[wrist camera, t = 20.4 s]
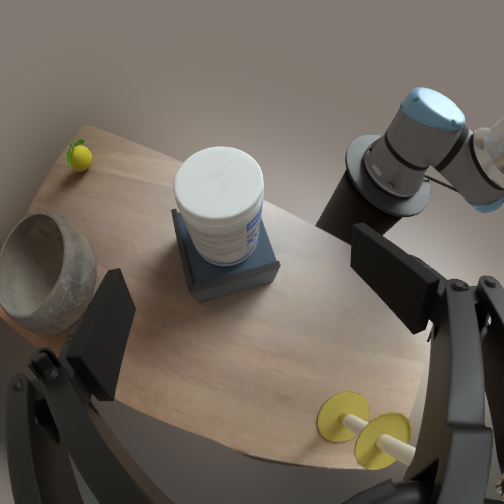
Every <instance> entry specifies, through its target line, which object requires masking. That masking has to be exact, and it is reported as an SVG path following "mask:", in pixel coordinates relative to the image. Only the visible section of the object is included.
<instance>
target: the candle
mask: <svg viewBox="0 0 504 504" xmlns="http://www.w3.org/2000/svg"><path fill="white" fill-rule="evenodd" d="M368 419H369V406H368V403H367V401H366V399H364V398H363V397H362V396H361V395H360V394H357V393H353V392H343V393H339V394H337V395H335V396H333V397H331V398H330V399H329V400H328V401H327V402H326V403H325V404H324V405H323V406H322V408H321V410H320V412H319V414H318V418H317V427H318V429H319V431H320V434H321V435H322V436H323V437H324V438H326V439H327V440H328V441H332V442H337V443H339V442H344V441H349V440H351V439H352V438H354V437H356V436H359V437H358V439H357V441H356V443H355V452H354V455H355V458H356V460H357V462H358V464H359V465H361V466H362V467H364V468H365V469H371V470H378V469H381V468H384V467H387V466H389V465H390V464H392V463H393V462H395V461H396V460H399V461H400V462H402V463H404V464H406V465H407V466H409V465H410V463H411V462H412V460H413V457H414V454H415V450H416V448H415V447H412V446H410V445H408V444H409V442H410V439H411V432H412V428H411V425H410V422H409V419H407V418H406V417H405V416H404V415H403V414H400V413H395V412H390V413H386V414H382V415H380V416H378V417H377V418H375V419H373V420H372V421H370V422H369V423H368Z"/></svg>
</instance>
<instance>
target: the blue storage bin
mask: <svg viewBox="0 0 504 504" xmlns="http://www.w3.org/2000/svg"><path fill="white" fill-rule="evenodd" d="M171 212H172V217H173V222H174V227H175V232H176V237H177V242H178V247H179V251H180V256H181V260H182V265H183V269H184V273H185V277H186V282H187V286H188V290H189V292H190V293H191V294H192V295H193V296H194V297H195V298H196V299H197V300H198V301H199V303H200V302H204V301H208V300H211V299H215V298H218V297H222V296H226V295H229V294H233V293H236V292H240V291H243V290H247V289H250V288H253V287H257V286H260V285H264V284H267V283H270V282H273V281H274V278H275V276H276V274H277V272H278V270H279V268H280V263H279V261H276V258H275V255H274V253H273V250H272V247H271V244H270V241H269V238H268V236H267V233H266V230H265V227H264V224H263V221H262V219H261V220H260V227H259V235H258V241H257V245H256V247H255V249H254V251H253V252H252V254H251V255H250V256H249V257H248V258H247V259H246V260H244V261H243V262H241V263H238V264H236V265H232V266H218V265H214V264H212V263H210V262H208V261H206V260H205V259H204V258H203V257H201V255H200V254H199V253H198V251H197V250H196V248H195V245H194V243H193V241H192V239H191V236H190V234H189V232H188V229H187V227H186V225H185V222H184V220H183V218H182V215H181V213H178V212H177V210H176V209H173V210H171Z"/></svg>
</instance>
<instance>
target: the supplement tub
mask: <svg viewBox="0 0 504 504" xmlns="http://www.w3.org/2000/svg"><path fill="white" fill-rule="evenodd" d="M174 194H175V199H176V203H177V206H178V208H179V211H180V213H181V215H182V218H183V220H184V222H185V225H186V227H187V229H188V232H189V234H190V236H191V239H192V241H193V243H194V245H195V248H196V250H197V251H198V253H199V254H200V255H201V257H203V258H204V259H205V260H206V261H208V262H210V263H212V264H214V265H218V266H232V265H236V264H238V263H241V262H243V261H244V260H246V259H247V258H248V257H249V256H250V255H251V254H252V252H253V251H254V249H255V247H256V245H257V241H258V235H259V227H260V220H261V212H262V204H263V195H264V183H263V175H262V171H261V168H260V166H259V165H258V163H257V162H256V161H255V160H254V159H253V158H252V157H251V156H250V155H248V154H247V153H245V152H243V151H240V150H238V149H235V148H231V147H212V148H207V149H204V150H201V151H199V152H197V153H195V154H193V155H192V156H190V157H189V158H188V159H186V161H184V162H183V163H182V165H181V166H180V167H179V169H178V171H177V173H176V175H175V178H174Z"/></svg>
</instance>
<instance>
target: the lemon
mask: <svg viewBox="0 0 504 504" xmlns="http://www.w3.org/2000/svg"><path fill="white" fill-rule="evenodd" d="M82 143H84V140H82V139H79V140H78V141H77V142H76V144H75V145H74V146H75V147H74V148H73V146H72V145H71V143H70V142H69V144H70V149H71V147H72V148H73V149H72V150H71V152H70V149H69V150H68V152H67V162H68V166H69V162H70V164H71V166H72V168H73V169H74V170H76V171H78V172H83V171H85V170H87V169H88V168H89V167H90V165H91V163H92V155H91V153H90V151H89V150H88V149H87V148H86V147H84V146H76V145H80V144H82Z"/></svg>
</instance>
